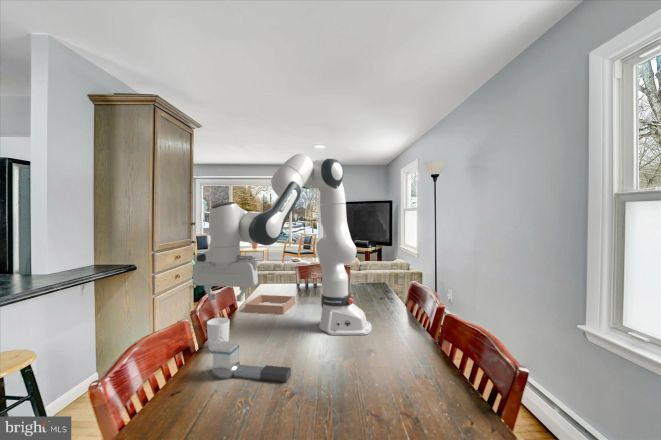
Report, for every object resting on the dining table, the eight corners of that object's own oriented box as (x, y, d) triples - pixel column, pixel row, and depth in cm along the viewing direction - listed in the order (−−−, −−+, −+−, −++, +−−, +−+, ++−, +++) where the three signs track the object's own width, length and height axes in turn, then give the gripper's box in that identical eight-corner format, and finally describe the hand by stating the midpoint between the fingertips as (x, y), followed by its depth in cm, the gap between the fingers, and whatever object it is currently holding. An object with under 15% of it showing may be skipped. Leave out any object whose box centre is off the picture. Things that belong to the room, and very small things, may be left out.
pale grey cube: (239, 361, 100) (239, 342, 100) (230, 370, 95) (230, 350, 94) (222, 359, 101) (222, 341, 101) (212, 368, 96) (212, 348, 96)
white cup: (208, 354, 111) (208, 326, 110) (205, 346, 118) (205, 319, 117) (231, 350, 114) (231, 322, 114) (227, 342, 121) (227, 316, 121)
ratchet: (292, 372, 98) (292, 353, 98) (284, 386, 90) (283, 365, 90) (221, 365, 103) (221, 347, 103) (207, 378, 95) (206, 358, 95)
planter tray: (295, 303, 173) (295, 296, 173) (283, 314, 155) (283, 306, 155) (260, 301, 177) (260, 294, 177) (245, 312, 159) (244, 304, 158)
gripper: (261, 254, 98) (261, 298, 99) (201, 253, 102) (202, 296, 103) (252, 257, 92) (253, 304, 92) (188, 256, 96) (189, 301, 96)
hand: (225, 300), depth 97 cm, fingers open, 8 cm apart
